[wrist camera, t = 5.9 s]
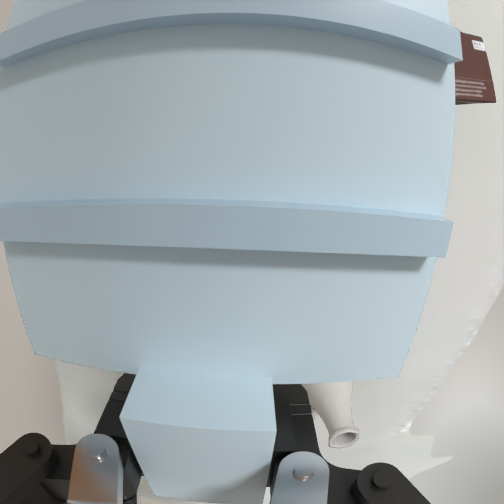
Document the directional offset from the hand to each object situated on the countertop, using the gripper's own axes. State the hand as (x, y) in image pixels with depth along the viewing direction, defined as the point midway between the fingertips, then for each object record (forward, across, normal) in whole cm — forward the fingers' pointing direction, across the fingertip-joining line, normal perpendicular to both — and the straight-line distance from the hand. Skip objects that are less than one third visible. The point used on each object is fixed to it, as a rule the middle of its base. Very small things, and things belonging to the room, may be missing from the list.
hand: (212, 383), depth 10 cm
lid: (-1, 0, -6) cm, 6 cm away
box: (+19, -17, -17) cm, 31 cm away
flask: (+19, -11, +17) cm, 28 cm away
